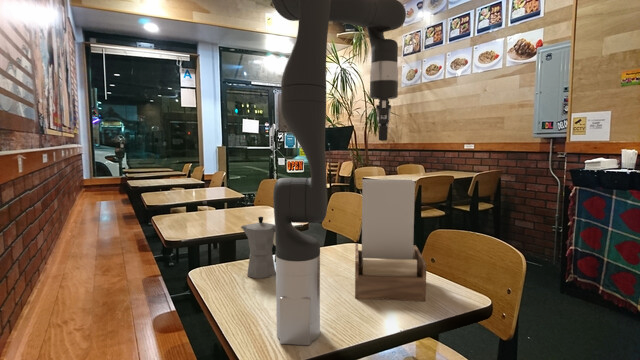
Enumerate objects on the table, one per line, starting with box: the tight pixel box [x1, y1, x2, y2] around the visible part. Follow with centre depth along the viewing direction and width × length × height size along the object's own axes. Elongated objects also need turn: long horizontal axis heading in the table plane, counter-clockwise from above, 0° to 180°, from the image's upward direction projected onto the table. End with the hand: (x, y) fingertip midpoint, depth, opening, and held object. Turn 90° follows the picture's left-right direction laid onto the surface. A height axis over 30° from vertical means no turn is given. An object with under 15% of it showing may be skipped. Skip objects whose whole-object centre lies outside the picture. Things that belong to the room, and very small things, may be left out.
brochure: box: [361, 178, 416, 266], centre depth 103 cm, size 14×6×30 cm, turn 84°
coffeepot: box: [240, 216, 276, 280], centre depth 110 cm, size 15×9×18 cm, turn 78°
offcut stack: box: [363, 258, 417, 277], centre depth 96 cm, size 4×14×10 cm, turn 84°
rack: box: [354, 243, 428, 302], centre depth 100 cm, size 16×18×10 cm
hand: (382, 140), depth 99 cm, fingers open, 8 cm apart
